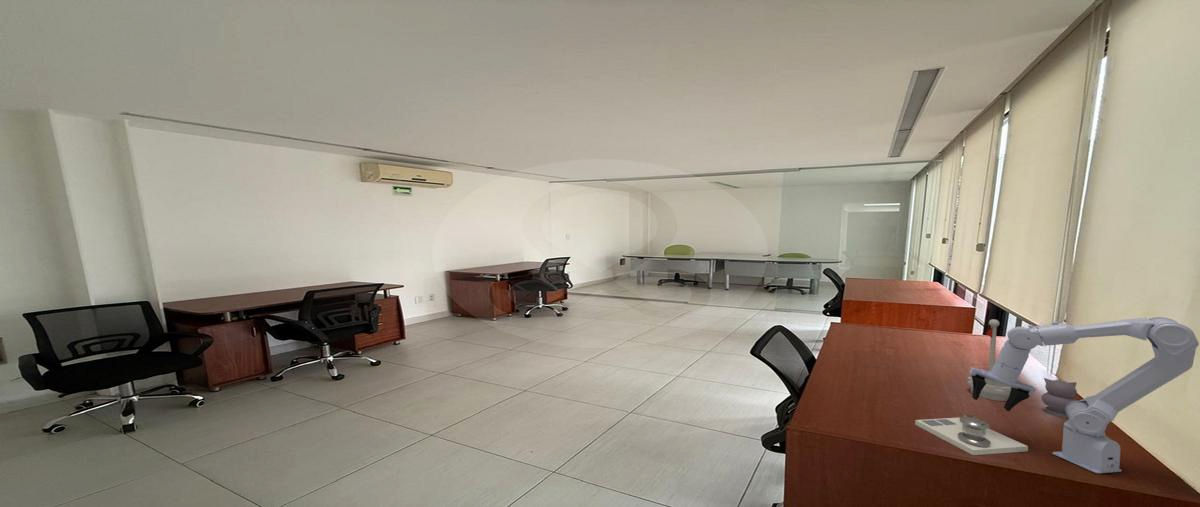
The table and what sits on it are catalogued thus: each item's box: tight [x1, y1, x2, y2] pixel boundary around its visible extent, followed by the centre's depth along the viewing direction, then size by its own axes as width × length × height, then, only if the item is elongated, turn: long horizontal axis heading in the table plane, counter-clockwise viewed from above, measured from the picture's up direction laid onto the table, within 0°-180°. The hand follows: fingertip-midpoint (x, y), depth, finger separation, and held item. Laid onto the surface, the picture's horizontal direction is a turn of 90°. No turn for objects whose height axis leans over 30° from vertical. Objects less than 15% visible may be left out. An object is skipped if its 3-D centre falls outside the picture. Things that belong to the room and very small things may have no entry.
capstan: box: [958, 413, 991, 447], centre depth 120 cm, size 17×7×5 cm, turn 142°
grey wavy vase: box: [1040, 377, 1078, 420], centre depth 136 cm, size 8×8×12 cm
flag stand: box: [967, 318, 1011, 402], centre depth 152 cm, size 13×13×30 cm
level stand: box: [914, 417, 1029, 456], centre depth 121 cm, size 18×18×2 cm
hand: (990, 403), depth 121 cm, fingers open, 7 cm apart
